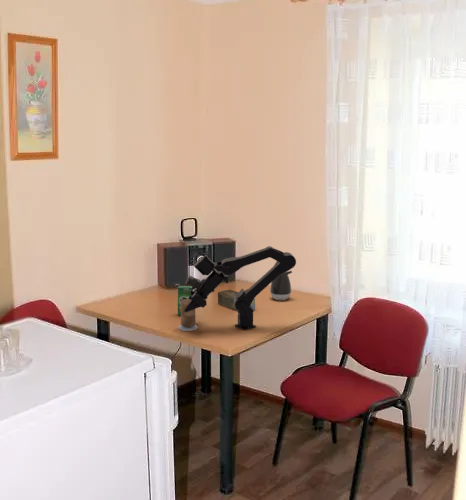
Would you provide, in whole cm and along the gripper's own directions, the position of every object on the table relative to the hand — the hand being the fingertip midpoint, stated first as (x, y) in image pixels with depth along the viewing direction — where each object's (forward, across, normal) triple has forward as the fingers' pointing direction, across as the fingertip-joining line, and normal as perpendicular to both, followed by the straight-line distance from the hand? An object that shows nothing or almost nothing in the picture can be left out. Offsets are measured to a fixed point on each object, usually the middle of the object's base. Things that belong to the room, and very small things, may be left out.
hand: (184, 309), depth 259 cm
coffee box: (+5, -18, +7) cm, 20 cm away
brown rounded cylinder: (+4, 0, +6) cm, 7 cm away
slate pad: (+5, 0, +7) cm, 8 cm away
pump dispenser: (-27, -41, +39) cm, 63 cm away
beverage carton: (-11, -29, +23) cm, 39 cm away
